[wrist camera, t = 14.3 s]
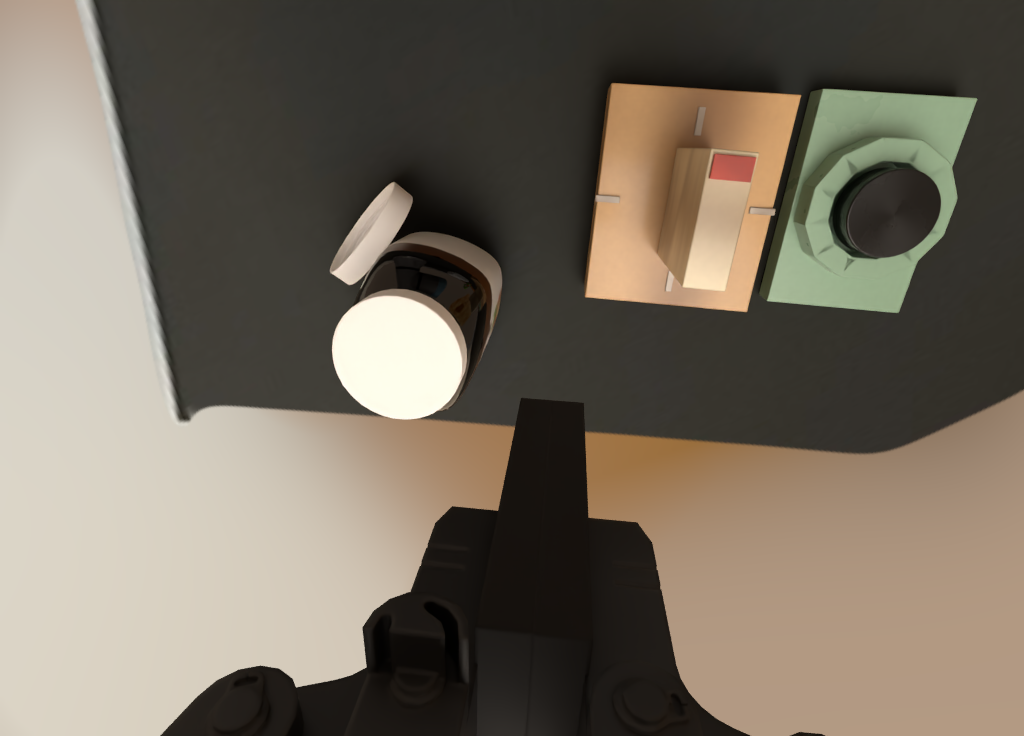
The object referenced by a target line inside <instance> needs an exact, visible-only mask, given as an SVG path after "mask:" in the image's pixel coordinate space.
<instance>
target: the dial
mask: <svg viewBox="0 0 1024 736" xmlns="http://www.w3.org/2000/svg"><path fill="white" fill-rule="evenodd" d="M758 156H759V153H758V152H750V151H739V150H727V149H715V148H677V151H676V157H675V162H674V167H673V173H672V178H671V183H670V189H669V194H668V199H667V205H666V210H665V215H664V221H663V226H662V231H661V237H660V242H659V247H658V253H657V255H658V256H659V258H660V259H661V260H662V262H663V263H664V264H665V265H666V267H667V268H668V269H669V271H670V272H671V273H672V274H673V276H674V277H675V278H676V280H677V281H678V282H679V284H680V285H681V286H682V287H683V288H693V289H703V290H712V291H722V292H724V291H725V290H726V287H727V283H728V278H729V274H730V270H731V266H732V262H733V258H734V254H735V250H736V246H737V242H738V238H739V234H740V229H741V225H742V221H743V217H744V213H745V209H746V205H747V201H748V197H749V193H750V189H751V184H752V180H753V176H754V172H755V168H756V164H757V160H758Z"/></svg>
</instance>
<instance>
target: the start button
mask: <svg viewBox="0 0 1024 736" xmlns="http://www.w3.org/2000/svg"><path fill="white" fill-rule="evenodd" d="M940 209H941V196H940V192H939V189H938V187H937V185H936V183H935V182H934V181H933V180H932V179H931V178H930V177H929V176H928V175H927V174H925V173H923V172H921V171H918V170H915V169H909V168H894V167H884V168H877V169H873V170H871V171H868V172H866V173H864V174H862V175H860V176H859V177H857V178H856V179H855V180H853V181H852V182H851V183H850V184H849V185H848V186H847V187H846V188H845V189H844V190H843V192H842V193H841V195H840V196H839V198H838V200H837V202H836V205H835V207H834V212H833V227H834V231H835V234H836V236H837V237H838V239H839V240H840V242H841V243H842V244H844V245H845V246H846V247H848V248H849V249H852V250H854V251H857V252H859V253H862V254H865V255H868V256H871V257H876V258H888V257H893V256H897V255H900V254H903V253H905V252H907V251H909V250H911V249H913V248H914V247H916V246H917V245H918V244H920V243H921V242H922V241H923V240H924V239H925V238H926V237H927V236H928V235H929V233H930V232H931V231H932V229H933V228H934V226H935V224H936V222H937V220H938V217H939V214H940Z"/></svg>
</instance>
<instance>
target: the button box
mask: <svg viewBox="0 0 1024 736" xmlns="http://www.w3.org/2000/svg"><path fill="white" fill-rule="evenodd" d="M976 101H977V98H966V97H950V96H934V95H918V94H902V93H886V92H870V91H854V90H838V89H820V90H816V91H811V93H810V97H809V100H808V104H807V108H806V112H805V116H804V120H803V124H802V128H801V132H800V136H799V139H798V143H797V147H796V151H795V155H794V159H793V163H792V167H791V171H790V175H789V178H788V182H787V186H786V190H785V194H784V198H783V202H782V206H781V210H780V214H779V217H778V221H777V225H776V229H775V233H774V237H773V241H772V245H771V249H770V253H769V256H768V260H767V264H766V268H765V272H764V276H763V280H762V284H761V288H760V292H759V295H761V296H762V297H763V298H764V299H766V300H767V301H773V302H784V303H795V304H806V305H817V306H828V307H839V308H850V309H861V310H872V311H883V312H894V313H898V312H899V310H900V307H901V305H902V302H903V299H904V296H905V294H906V291H907V288H908V286H909V283H910V280H911V277H912V275H913V272H914V269H915V267H916V264H917V261H918V260H919V259H920V258H921V257H922V256H923V255H924V254H925V253H926V252H927V251H928V250H929V249H930V248H931V247H932V246H934V245H935V244H936V243H937V242H938V241H939V240H940V239H941V238H942V237H943V235H944V233H945V230H946V228H947V225H948V222H949V220H950V217H951V215H952V212H953V209H954V207H955V204H956V201H957V198H958V197H957V192H956V186H955V181H954V176H953V171H952V166H953V163H954V161H955V158H956V155H957V152H958V150H959V147H960V144H961V142H962V139H963V136H964V133H965V131H966V128H967V125H968V123H969V120H970V117H971V114H972V112H973V109H974V106H975V104H976ZM884 167H894V168H909V169H915V170H918V171H921V172H923V173H925V174H927V175H928V176H929V177H930V178H931V179H932V180H933V181H934V182H935V183H936V185H937V187H938V189H939V192H940V196H941V209H940V214H939V217H938V220H937V222H936V224H935V226H934V228H933V229H932V231H931V232H930V233H929V235H928V236H927V237H926V238H925V239H924V240H923V241H922V242H921V243H920V244H918V245H917V246H916V247H914V248H913V249H911V250H909V251H907V252H905V253H903V254H900V255H897V256H893V257H888V258H876V257H871V256H868V255H865V254H862V253H859V252H857V251H854V250H852V249H849V248H848V247H846V246H845V245H844V244H842V243H841V242H840V240H839V239H838V237H837V236H836V234H835V231H834V227H833V212H834V207H835V205H836V202H837V200H838V198H839V196H840V195H841V193H842V192H843V190H844V189H845V188H846V187H847V186H848V185H849V184H850V183H851V182H852V181H853V180H855V179H856V178H857V177H859V176H860V175H862V174H864V173H866V172H868V171H871V170H873V169H877V168H884Z"/></svg>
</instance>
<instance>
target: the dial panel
mask: <svg viewBox="0 0 1024 736" xmlns="http://www.w3.org/2000/svg"><path fill="white" fill-rule="evenodd" d="M800 98H801V95H795V94H779V93H764V92H748V91H732V90H716V89H701V88H685V87H669V86H653V85H638V84H622V83H612V84H611V85H610V87H609V89H608V94H607V103H606V111H605V119H604V127H603V135H602V143H601V151H600V160H599V168H598V176H597V184H596V192H595V200H594V209H593V217H592V225H591V233H590V241H589V249H588V258H587V266H586V274H585V282H584V290H585V297H590V298H600V299H611V300H622V301H633V302H644V303H654V304H665V305H676V306H687V307H698V308H708V309H719V310H730V311H741V312H747V309H748V305H749V301H750V297H751V293H752V289H753V285H754V281H755V277H756V273H757V269H758V265H759V261H760V257H761V253H762V249H763V245H764V241H765V237H766V233H767V229H768V225H769V222H770V218H771V215H772V216H774V214H775V210H776V209H773V206H774V202H775V198H776V194H777V190H778V186H779V182H780V178H781V174H782V170H783V166H784V162H785V158H786V154H787V150H788V146H789V142H790V138H791V134H792V130H793V126H794V122H795V118H796V114H797V110H798V106H799V102H800ZM677 148H715V149H727V150H739V151H750V152H758V153H759V156H758V160H757V164H756V168H755V172H754V176H753V180H752V184H751V189H750V193H749V197H748V201H747V205H746V209H745V213H744V217H743V221H742V225H741V229H740V234H739V238H738V242H737V246H736V250H735V254H734V258H733V262H732V266H731V270H730V274H729V278H728V283H727V287H726V290H725V291H724V292H722V291H712V290H703V289H693V288H683V287H682V286H681V285H680V284H679V282H678V281H677V280H676V278H675V277H674V276H673V274H672V273H671V272H670V271H669V269H668V268H667V267H666V265H665V264H664V263H663V262H662V260H661V259H660V258H659V256H658V255H657V253H658V247H659V242H660V237H661V231H662V226H663V221H664V215H665V210H666V205H667V199H668V194H669V189H670V183H671V178H672V173H673V167H674V162H675V157H676V151H677Z"/></svg>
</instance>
